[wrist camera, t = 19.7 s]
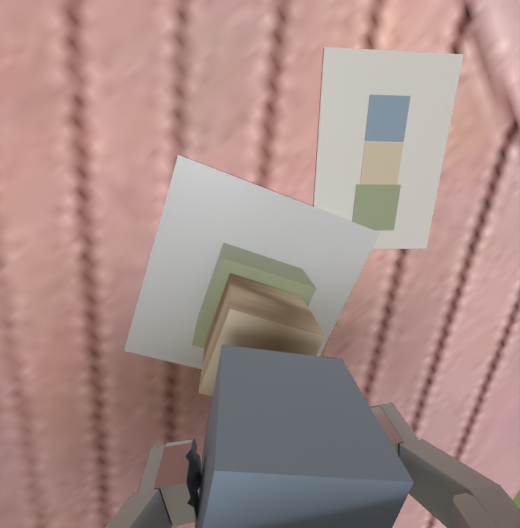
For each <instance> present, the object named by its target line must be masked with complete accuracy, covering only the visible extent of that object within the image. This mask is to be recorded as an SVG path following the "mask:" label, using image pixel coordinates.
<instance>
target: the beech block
mask: <svg viewBox="0 0 520 528" xmlns="http://www.w3.org/2000/svg"><path fill="white" fill-rule="evenodd" d="M324 338H325V335H324V333H323V332H322V330H321V328H320V326H319V325H318V323H317V321H316V319H315V318H314V316H313V314H312V313H311V311H310V309H309V307H308V306H307V304H306V302H305V300H304V299H303V297H302V296H301V295H298V294H295V293H292V292H289V291H286V290H282V289H279V288H276V287H273V286H270V285H267V284H264V283H260V282H257V281H254V280H251V279H248V278H245V277H241V276H238V275H235V274H232V273H230V274H229V277H228V280H227V282H226V285H225V288H224V291H223V293H222V296H221V299H220V302H219V304H218V307H217V310H216V313H215V315H214V318H213V321H212V324H211V326H210V329H209V332H208V335H207V337H206V341H205V348H204V356H203V363H202V370H201V377H200V384H199V391H198V394H203V395H207V396H211V397H212V396H213V391H214V385H215V380H216V374H217V369H218V364H219V358H220V353H221V347H222V345H228V346H237V347H245V348H253V349H261V350H270V351H278V352H286V353H295V354H303V355H311V356H316V355H317V353H318V351H319V349H320V347H321V345H322V343H323V340H324Z"/></svg>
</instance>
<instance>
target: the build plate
mask: <svg viewBox="0 0 520 528" xmlns="http://www.w3.org/2000/svg"><path fill="white" fill-rule="evenodd" d="M379 234H380V232H378V231H375V230H373V229H370V228H368V227H365V226H362V225H360V224H357V223H355V222H352V221H350V220H347V219H344V218H342V217H339V216H336V215H334V214H331V213H329V212H326V211H323V210H321V209H318V208H316V207H313V206H311V205H308V204H305V203H303V202H300V201H298V200H295V199H292V198H290V197H287V196H285V195H282V194H279V193H277V192H274V191H272V190H269V189H266V188H264V187H261V186H259V185H256V184H253V183H251V182H248V181H246V180H243V179H240V178H238V177H235V176H233V175H230V174H227V173H225V172H222V171H219V170H217V169H214V168H212V167H209V166H206V165H204V164H201V163H199V162H196V161H193V160H191V159H188V158H186V157H183V156H180V155H178V158H177V162H176V165H175V169H174V173H173V176H172V180H171V183H170V187H169V191H168V194H167V198H166V201H165V205H164V209H163V212H162V216H161V219H160V223H159V227H158V230H157V234H156V237H155V241H154V245H153V248H152V252H151V255H150V259H149V263H148V266H147V270H146V273H145V277H144V281H143V284H142V288H141V291H140V295H139V299H138V302H137V306H136V309H135V313H134V317H133V320H132V324H131V327H130V331H129V335H128V338H127V342H126V345H125V349H124V351H126V352H130V353H134V354H139V355H143V356H147V357H151V358H155V359H159V360H164V361H168V362H172V363H176V364H180V365H184V366H189V367H193V368H197V369H201V370H202V363H203V356H204V348H205V341H206V337H207V335H208V332H209V329H210V326H211V324H212V321H213V318H214V315H215V313H216V310H217V307H218V304H219V302H220V299H221V296H222V293H223V291H224V288H225V285H226V282H227V280H228V277H229V274H230V273H232V274H235V275H238V276H241V277H245V278H248V279H251V280H254V281H257V282H260V283H264V284H267V285H270V286H273V287H276V288H279V289H282V290H286V291H289V292H292V293H295V294H298V295H301V296H302V297H303V299H304V300H305V302H306V304H307V306H308V307H309V309H310V311H311V313H312V314H313V316H314V318H315V319H316V321H317V323H318V325H319V326H320V328H321V330H322V332H323V333H324V335H325V338H324V340H323V343H322V345H321V347H320V349H319V351H318V353H317V355H316V356H319V357H320V355H321V353H322V351H323V349H324V347H325V345H326V343H327V341H328V338H329V336H330V334H331V332H332V330H333V328H334V326H335V324H336V322H337V320H338V318H339V316H340V314H341V312H342V310H343V308H344V306H345V304H346V302H347V300H348V298H349V296H350V294H351V292H352V289H353V287H354V285H355V283H356V281H357V279H358V277H359V275H360V273H361V271H362V269H363V267H364V265H365V263H366V261H367V259H368V257H369V255H370V253H371V251H372V249H373V247H374V245H375V243H376V240H377V238H378V236H379Z"/></svg>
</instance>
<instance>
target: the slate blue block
mask: <svg viewBox="0 0 520 528" xmlns="http://www.w3.org/2000/svg"><path fill="white" fill-rule="evenodd" d="M201 471H202V476H201V486H200V488H199V493H198V495H199V507H198V516H197V521H196V522H195V528H392V527H393V524H394V522H395V520H396V518H397V516H398V514H399V512H400V510H401V508H402V506H403V504H404V501H405V499H406V497H407V495H408V493H409V491H410V489H411V487H412V485H413V483H414V482H413V480H412V478H411V477H410V475H409V473H408V471H407V470H406V468H405V466H404V465H403V463H402V461H401V459H400V458H399V456H398V454H397V453H396V451H395V449H394V447H393V446H392V444H391V442H390V441H389V439H388V437H387V435H386V434H385V432H384V430H383V429H382V427H381V425H380V423H379V422H378V420H377V418H376V417H375V415H374V413H373V411H372V410H371V408H370V406H369V405H368V403H367V401H366V399H365V398H364V396H363V394H362V393H361V391H360V389H359V387H358V386H357V384H356V382H355V381H354V379H353V377H352V375H351V374H350V372H349V370H348V369H347V367H346V365H345V363H344V362H343V360H342V359H336V358H328V357H319V356H311V355H303V354H295V353H286V352H278V351H270V350H261V349H253V348H245V347H237V346H228V345H222V347H221V353H220V358H219V364H218V369H217V374H216V380H215V385H214V391H213V396H212V401H211V407H210V412H209V417H208V423H207V428H206V434H205V439H204V446H203V455H202V465H201Z"/></svg>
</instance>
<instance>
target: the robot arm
mask: <svg viewBox="0 0 520 528" xmlns="http://www.w3.org/2000/svg"><path fill="white" fill-rule="evenodd" d="M370 408H371V410H372V411H373V413H374V415H375V417H376V418H377V420H378V422H379V423H380V425H381V427H382V429H383V430H384V432H385V434H386V435H387V437H388V439H389V441H390V442H391V444H392V446H393V447H394V449H395V451H396V453H397V454H398V456H399V458H400V459H401V461H402V463H403V465H404V466H405V468H406V470H407V471H408V473H409V475H410V477H411V478H412V480H413V482H414V483H413V485H412V487H411V489H410V491H409V494H410V495H411V496H412V497H413V498H414V499H415V500H417V501H418V502H419V503H420V504H421V505H422V506H423V507H424V508H426V509H427V510H428V511H429V512H430V513H431V514H432V515H433V516H435V517H436V518H437V519H438V520H439V521H440V522H441V523H443V524H444V525H445V526H446V527H447V528H520V508H519V507H518V506H517V505H516V504H515V503H514V501H513V500H512V499H511V498H510V497H509V495H508V494H507V493H506V492H505V491H504V490H503V488H502V487H501V486H500V485H498V484H497V483H495V482H493V481H492V480H490V479H488V478H487V477H485V476H483V475H482V474H480V473H478V472H477V471H475V470H473V469H472V468H470V467H468V466H467V465H465V464H463V463H462V462H460V461H458V460H457V459H455V458H453V457H452V456H450V455H448V454H447V453H445V452H443V451H442V450H440V449H438V448H437V447H435V446H433V445H432V444H430V443H428V442H427V441H425V440H423V439H420V440H419V439H418V438H417V437H416V435H415V434H414V432H413V431H412V430H411V428H410V427H409V425H408V424H407V422H406V421H405V420H404V418H403V417H402V415H401V414H400V413H399V411H398V410H397V408H396V407H395V406H394V404H392V403H388V404H382V405H378V406H377V405H376V406H371V407H370ZM196 450H197V445H196V441H195V439H191V440H184V441H178V442H171V443H166V444H160V445H153V446H152V448H151V449H150V452H149V455H148V459H147V462H146V466H145V469H144V472H143V476H142V479H141V483H140V486H139V490H138V493H133V494H132V496H131V497H130V498H129V499H128V500H127V502H126V503H125V504H124V505H123V506H122V508H121V509H120V510H119V511H118V512H117V514H116V515H115V516H114V517H113V518H112V519H111V521H110V522H109V523H108V524H107V525H106V527H105V528H172V527H173V526H177V525H182V524H186V523H191V522H195V521H197V516H198V507H199V495H198V489H199V488H200V486H201V476H202V471H201V460H200V456H199V455H198V454H197V453H196Z"/></svg>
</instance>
